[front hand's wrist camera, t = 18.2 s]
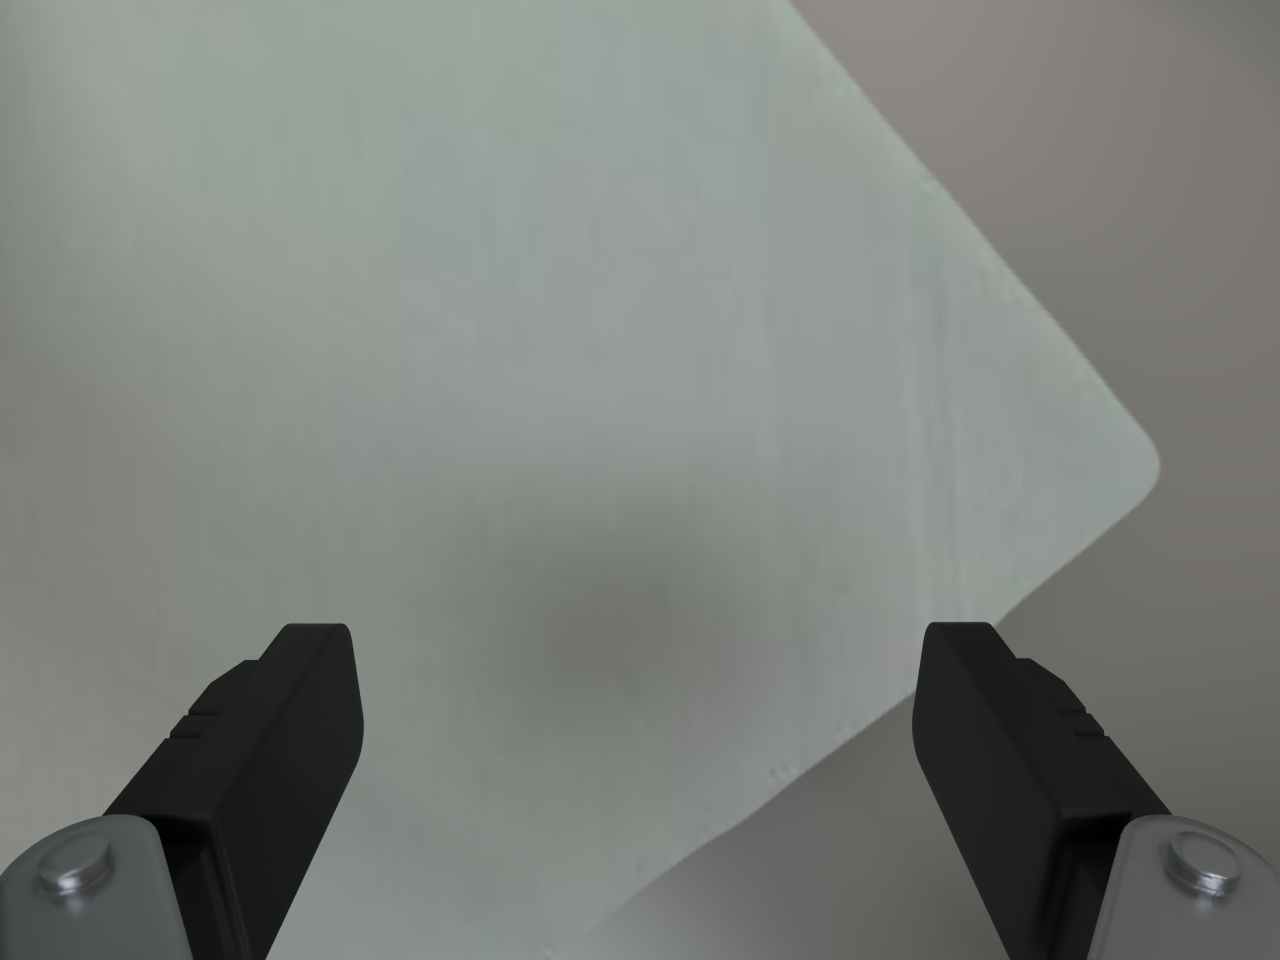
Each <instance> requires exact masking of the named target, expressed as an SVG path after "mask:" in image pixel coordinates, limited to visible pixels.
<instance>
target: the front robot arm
mask: <svg viewBox="0 0 1280 960" xmlns="http://www.w3.org/2000/svg"><path fill="white" fill-rule="evenodd" d="M363 732H364V719H363V711H362V704H361V698H360V691H359V684H358V678H357V671H356V664H355V658H354V651H353V644H352V639H351V634H350V631H349V629H348V627H347V626H346V625H345V624H287V625H286V626H284V627H283V628H282V629H281V631H280V632H279V633H278V635H277V636H276V637H275V639H274V640H273V641H272V643H271V644H270V645H269V647H268V648H267V649H266V650H265V652H264V653H263V654H262V656H261V657H260V658H259V660H244V661H243V662H241V663H240V664H238V665H237V666H235V667H234V668H232V669H231V670H229V671H228V672H226V673H225V674H223V675H222V676H220V677H219V678H217V679H216V680H214V681H213V682H211V683H210V684H209V686H208V687H207V688H206V689H205V691H204V692H203V693H202V694H201V695H200V697H199V698H198V699H197V700H196V702H195V703H194V704H193V705H192V706H191V708H190V709H189V713H188V715H184V716H183V717H182V719H181V720H180V721H179V722H178V723H177V725H176V726H175V727H174V728H173V730H172V731H171V732H170V738H165V739H164V741H163V742H162V743H161V744H160V745H159V747H158V748H157V749H156V750H155V752H154V753H153V754H152V755H151V756H150V758H149V759H148V760H147V761H146V763H145V764H144V765H143V766H142V767H141V769H140V770H139V771H138V772H137V774H136V775H135V776H134V777H133V778H132V780H131V781H130V782H129V783H128V784H127V786H126V787H125V788H124V789H123V791H122V792H121V793H120V794H119V795H118V797H117V798H116V799H115V800H114V802H113V803H112V804H111V805H110V806H109V808H108V809H107V810H106V811H105V813H104V814H103V815H102V816H100V817H95V818H91V819H87V820H84V821H81V822H78V823H75V824H72V825H70V826H68V827H65V828H63V829H61V830H58V831H56V832H54V833H53V834H51V835H49V836H47V837H45V838H43V839H42V840H40V841H39V842H37V843H36V844H34V845H33V846H31V847H30V848H29V849H27V850H26V851H25V852H23V853H22V854H21V855H20V856H18V857H17V858H16V859H15V860H14V861H13V862H12V863H11V864H10V865H9V866H8V867H7V869H6V870H5V871H4V872H3V873H2V874H1V876H0V960H265V959H266V957H267V955H268V953H269V951H270V949H271V946H272V944H273V942H274V940H275V938H276V936H277V934H278V932H279V929H280V927H281V925H282V923H283V921H284V919H285V917H286V914H287V912H288V910H289V908H290V906H291V904H292V902H293V899H294V897H295V895H296V893H297V891H298V889H299V887H300V885H301V882H302V880H303V878H304V876H305V874H306V872H307V870H308V867H309V865H310V863H311V861H312V859H313V857H314V855H315V852H316V850H317V848H318V846H319V844H320V842H321V840H322V838H323V835H324V833H325V831H326V829H327V827H328V825H329V823H330V820H331V818H332V816H333V814H334V812H335V810H336V808H337V805H338V803H339V801H340V799H341V797H342V795H343V793H344V791H345V788H346V786H347V784H348V782H349V780H350V778H351V776H352V773H353V771H354V769H355V767H356V765H357V762H358V759H359V756H360V752H361V748H362V742H363ZM912 733H913V742H914V747H915V752H916V755H917V758H918V761H919V764H920V766H921V768H922V770H923V772H924V774H925V777H926V779H927V781H928V783H929V785H930V787H931V790H932V792H933V794H934V796H935V798H936V800H937V803H938V805H939V807H940V809H941V811H942V813H943V816H944V818H945V820H946V822H947V824H948V826H949V829H950V831H951V833H952V835H953V837H954V839H955V842H956V844H957V846H958V848H959V850H960V852H961V855H962V857H963V859H964V861H965V863H966V865H967V867H968V870H969V872H970V874H971V876H972V878H973V880H974V882H975V885H976V887H977V889H978V891H979V893H980V895H981V898H982V900H983V902H984V904H985V906H986V909H987V911H988V913H989V915H990V917H991V919H992V922H993V924H994V926H995V928H996V930H997V932H998V934H999V937H1000V939H1001V941H1002V943H1003V945H1004V947H1005V950H1006V952H1007V954H1008V956H1009V958H1010V960H1280V876H1279V874H1278V873H1277V872H1276V871H1275V870H1274V869H1273V867H1272V866H1271V865H1270V864H1269V863H1268V862H1267V861H1266V860H1265V859H1264V858H1263V857H1261V856H1260V855H1259V854H1258V853H1257V852H1255V851H1254V850H1253V849H1251V848H1250V847H1249V846H1247V845H1246V844H1244V843H1243V842H1241V841H1240V840H1238V839H1237V838H1235V837H1233V836H1231V835H1229V834H1227V833H1225V832H1224V831H1222V830H1219V829H1217V828H1215V827H1212V826H1210V825H1208V824H1205V823H1202V822H1199V821H1196V820H1193V819H1189V818H1185V817H1180V816H1173V815H1172V814H1171V812H1170V811H1169V810H1168V809H1167V807H1166V806H1165V805H1164V804H1163V803H1162V801H1161V800H1160V799H1159V798H1158V796H1157V795H1156V794H1155V793H1154V791H1153V790H1152V789H1151V788H1150V786H1149V785H1148V784H1147V783H1146V782H1145V780H1144V779H1143V778H1142V777H1141V775H1140V774H1139V773H1138V772H1137V771H1136V769H1135V768H1134V767H1133V766H1132V764H1131V763H1130V762H1129V761H1128V759H1127V758H1126V757H1125V756H1124V754H1123V753H1122V752H1121V751H1120V750H1119V748H1118V747H1117V746H1116V745H1115V743H1114V742H1113V741H1112V740H1111V739H1110V737H1109V736H1105V735H1104V730H1103V729H1102V727H1101V726H1100V725H1099V724H1098V722H1097V721H1096V720H1095V719H1094V718H1093V716H1092V715H1091V714H1088V713H1086V708H1085V706H1084V705H1083V704H1082V703H1081V702H1080V700H1079V699H1078V698H1077V697H1076V695H1075V694H1074V693H1073V692H1072V690H1071V689H1070V688H1069V687H1068V686H1067V684H1066V683H1065V682H1064V681H1063V680H1061V679H1060V678H1058V677H1057V676H1055V675H1054V674H1052V673H1051V672H1049V671H1048V670H1046V669H1045V668H1044V667H1042V666H1041V665H1039V664H1038V663H1036V662H1035V661H1033V660H1032V659H1030V658H1016V657H1015V656H1014V654H1013V653H1012V652H1011V650H1010V649H1009V648H1008V646H1007V645H1006V644H1005V642H1004V641H1003V640H1002V638H1001V637H1000V636H999V634H998V633H997V632H996V630H995V629H994V628H993V627H992V626H991V625H990V624H989V623H987V622H932V623H930V624H929V625H928V627H927V629H926V632H925V635H924V641H923V647H922V654H921V661H920V668H919V674H918V681H917V688H916V695H915V701H914V708H913V716H912Z"/></svg>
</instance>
